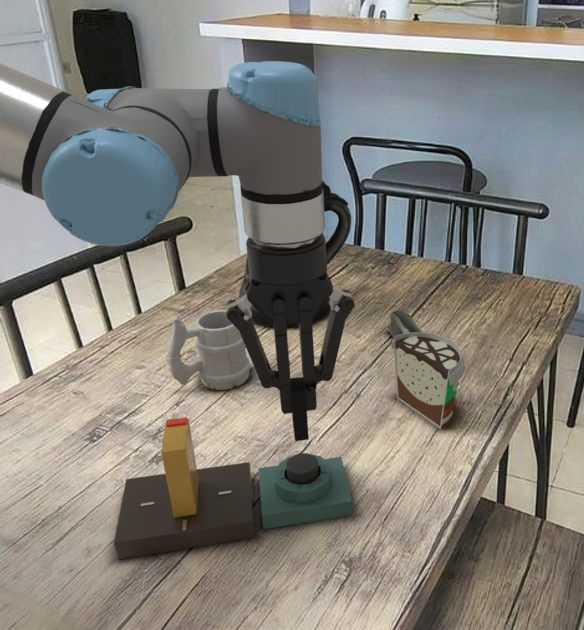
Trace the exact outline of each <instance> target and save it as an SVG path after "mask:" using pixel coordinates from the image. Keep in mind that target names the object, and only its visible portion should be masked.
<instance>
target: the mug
mask: <svg viewBox="0 0 584 630" xmlns="http://www.w3.org/2000/svg"><path fill="white" fill-rule="evenodd" d="M171 320H172V331H171V333H170V334H171V336H170V340H169V344H168V349H167V354H166V357H165V360H166V362H167V364H168V366H169V372H170V374H171V375H172V377H173V379H174V380H176V381H177V382H178V383H179V384H180V385H181V386H185V385H186V384H187V383H188V381H189V380H190V379H191V377H192V376H193V375H195V374H196V373H197V375H198V377H199V379H200V381H201V383H202V384H203V386H205V387H206V388H208V389H211V390H217V391H222V390H223V391H225V390H231V389H233V388H234V387H239V386H241V385H243V384H244V383H246V381H247V380H248V379H249V377H250V370H251V362H250V361H251V360H250V359H249V357H248V356H247V349H246V346H245V344H244V341H243V339H242V336H241V334H240V332H239V330H238V329H237V328H236V327H235V326H234V325H233V324H232V323H231V322H230V321H229V320H228V319H227V309H225V310H224V309H218V310H212V311H208V312H205V313H203V314H201V315H200V316H198V317H197V318H196V320H195V323H194V325H195V327H190V328H187V327H186V325H185V323H184V322H183V320H182V319H181V318H180V317H178V316H171ZM194 337H195V339H194V343H195V348H196V350H197V354H198V357H197V358H196V359H193V360H192V361H190V363H188V364H186V363H184V362H183V361H182V357H181V352H182V349H183V348H184V345H185V343H186V341H187V340H188V339H191V338H194Z"/></svg>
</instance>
